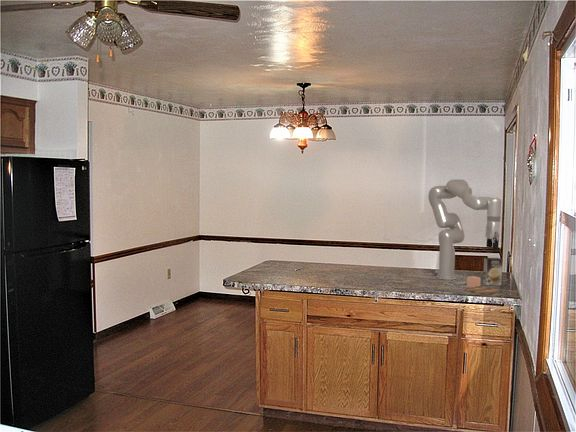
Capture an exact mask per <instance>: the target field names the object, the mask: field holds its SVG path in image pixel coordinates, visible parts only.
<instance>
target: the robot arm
mask: <svg viewBox="0 0 576 432" xmlns="http://www.w3.org/2000/svg"><path fill="white" fill-rule="evenodd" d="M472 189H473V188H472V187H471V186H469V182H467V181H466V180H465V179H458V178H457V179H450V180H448V181H447V182H446V184H445V185H435V186H433V187H431V188H430V190H429V191H428V197H427V198H428V202H429V204H430V207H431V210H432V212H433V215H434V220H435V222H436V225H437V226H438V228H441V229H442V230H441V231H439V233H438V238H437V239H438V243H439V263H438V269H436V270H435V271H434V274H436V276H435V277H436V279H438V280H439V279H440V280H444V281H445V280H446V281H447V280H448V281H450V280H451V281H452V280H456V279H457V278H458V277H457V276H456V275H455V267H456V266H455V263H456V249H455V247H454V244H461V243H463V242H464V239H465V232H464V229H463V225H462V222H461V219H460V217H459V215H457V214H456V213H455V212H449V211H448V210H447V206H446V204H445V203H444V202H443V200H445V199H446V200H447V199H454V198H456V197H457V198H459V199H461V201H462V203H463V205H465V206H466V207H467V208H470V209H472V210H475V211H481V210H482V211H486V226H485V238H486V248H492V250H493V251H497V250H499V244H500V243H499V242H500V223H501V220H502V219H501V217H502V199H501V198H499V197H498V198H497V197H490V196H475V195H473V190H472Z"/></svg>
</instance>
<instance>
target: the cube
mask: <svg viewBox="0 0 576 432" xmlns="http://www.w3.org/2000/svg"><path fill="white" fill-rule="evenodd" d="M477 286H481V277H479V276H474V275H471V276H467V277H466V287H468V288H472V287H477Z"/></svg>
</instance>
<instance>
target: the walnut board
mask: <svg viewBox="0 0 576 432" xmlns="http://www.w3.org/2000/svg"><path fill="white" fill-rule="evenodd" d="M501 291H502V290H501V289H496V288H492V287H487V286H481V285H480V286H477V287H467V288H464V292H469V293H471V294H477V295H482V296H490V295H494V294H495V295H496V294H499V292H500V293H501Z"/></svg>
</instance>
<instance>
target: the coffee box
mask: <svg viewBox="0 0 576 432" xmlns="http://www.w3.org/2000/svg"><path fill="white" fill-rule="evenodd" d="M502 275H503V259H502V258H500V257H484V258H483V273H482V284H484V285H485V286H502V279H503V278H502Z"/></svg>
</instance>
